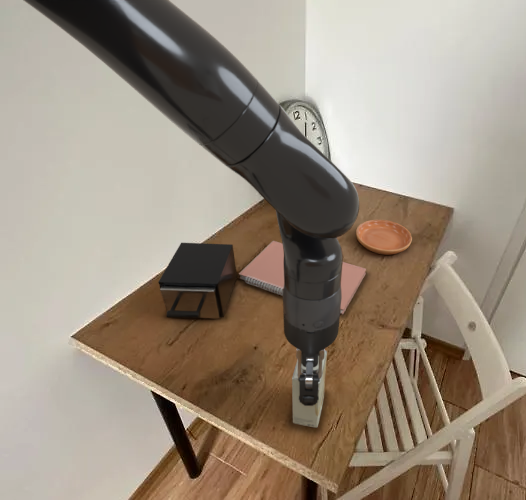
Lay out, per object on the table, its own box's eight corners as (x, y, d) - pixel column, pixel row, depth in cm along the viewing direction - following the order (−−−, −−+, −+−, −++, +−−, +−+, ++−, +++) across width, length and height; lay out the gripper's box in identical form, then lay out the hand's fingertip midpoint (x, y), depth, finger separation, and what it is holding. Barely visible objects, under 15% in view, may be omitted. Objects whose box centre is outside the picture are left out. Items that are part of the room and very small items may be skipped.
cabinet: (223, 317, 76) (217, 283, 70) (168, 315, 75) (158, 281, 70) (237, 276, 87) (232, 244, 81) (189, 274, 86) (181, 242, 81)
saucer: (415, 235, 107) (417, 227, 105) (403, 265, 95) (405, 256, 93) (364, 222, 111) (365, 214, 109) (347, 249, 99) (348, 240, 97)
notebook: (236, 281, 85) (236, 275, 84) (273, 245, 98) (272, 239, 97) (341, 318, 78) (341, 312, 77) (365, 274, 91) (366, 268, 89)
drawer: (213, 334, 71) (207, 306, 66) (160, 333, 70) (150, 305, 66) (232, 279, 85) (228, 253, 80) (187, 278, 84) (181, 251, 79)
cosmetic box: (317, 429, 58) (320, 385, 51) (291, 424, 58) (290, 380, 51) (325, 393, 63) (328, 349, 56) (301, 389, 63) (301, 345, 56)
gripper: (288, 270, 52) (290, 344, 62) (276, 351, 40) (281, 425, 50) (339, 272, 52) (333, 345, 62) (342, 352, 41) (334, 426, 51)
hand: (310, 381), depth 56 cm, fingers closed on cosmetic box, 6 cm apart
